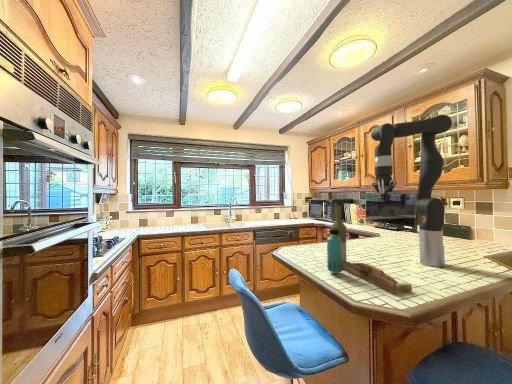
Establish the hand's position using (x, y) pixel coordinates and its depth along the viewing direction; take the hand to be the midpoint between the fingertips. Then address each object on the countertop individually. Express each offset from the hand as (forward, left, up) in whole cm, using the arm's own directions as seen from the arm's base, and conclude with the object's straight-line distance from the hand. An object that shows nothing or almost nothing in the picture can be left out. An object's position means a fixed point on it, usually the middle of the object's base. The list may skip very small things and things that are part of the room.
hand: (384, 201), depth 105 cm
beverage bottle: (+28, 0, -32) cm, 43 cm away
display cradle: (+17, +10, -32) cm, 37 cm away
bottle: (+20, -8, -32) cm, 39 cm away
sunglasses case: (+13, +8, -33) cm, 36 cm away
